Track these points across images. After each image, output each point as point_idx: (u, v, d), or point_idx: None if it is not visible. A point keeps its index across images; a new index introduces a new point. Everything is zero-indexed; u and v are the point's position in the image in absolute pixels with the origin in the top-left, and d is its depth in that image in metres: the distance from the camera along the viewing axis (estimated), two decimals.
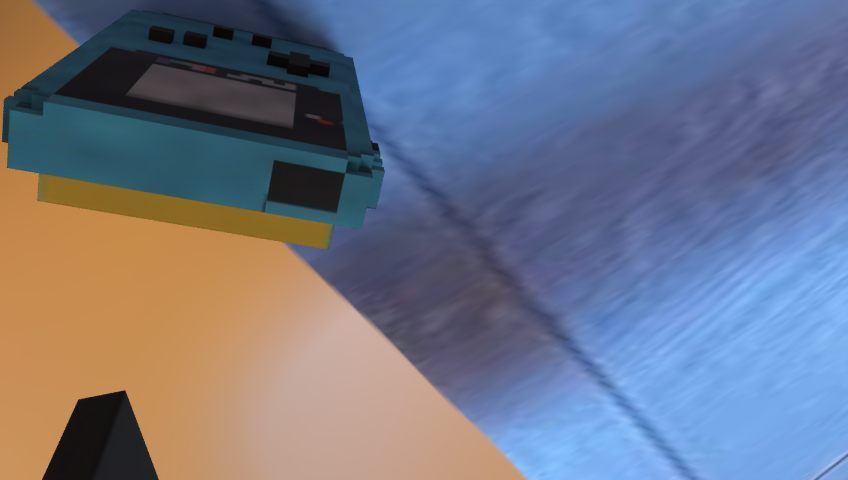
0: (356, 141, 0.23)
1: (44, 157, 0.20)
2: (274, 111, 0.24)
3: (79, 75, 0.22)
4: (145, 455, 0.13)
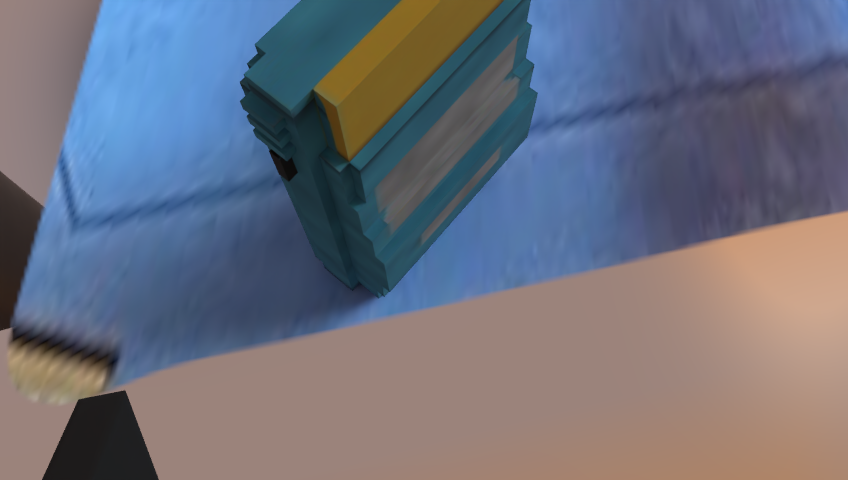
0: None
1: (301, 75, 0.19)
2: None
3: None
4: (145, 455, 0.13)
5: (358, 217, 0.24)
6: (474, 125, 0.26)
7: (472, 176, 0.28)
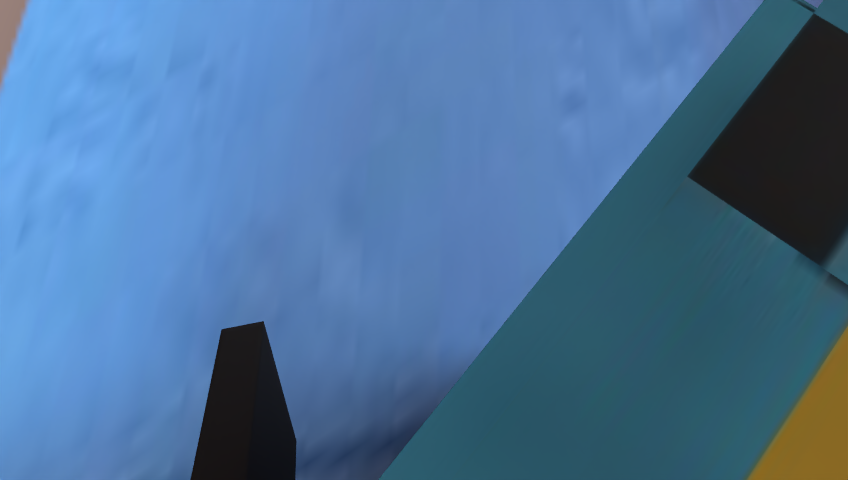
0: None
1: None
2: None
3: None
4: (278, 381, 0.15)
5: None
6: None
7: None
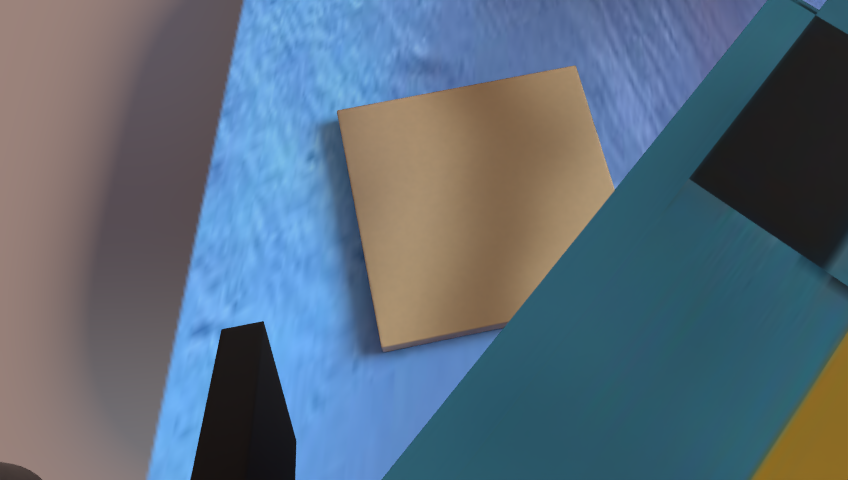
0: None
1: None
2: None
3: None
4: (278, 381, 0.15)
5: None
6: None
7: None
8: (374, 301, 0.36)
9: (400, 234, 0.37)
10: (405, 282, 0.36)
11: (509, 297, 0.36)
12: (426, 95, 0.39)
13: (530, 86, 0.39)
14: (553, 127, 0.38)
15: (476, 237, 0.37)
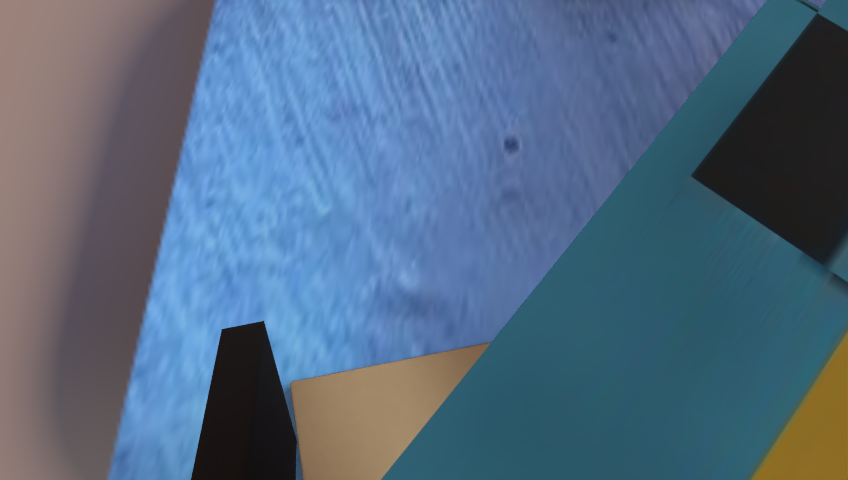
0: None
1: None
2: None
3: None
4: (278, 381, 0.15)
5: None
6: None
7: None
8: None
9: None
10: None
11: None
12: (415, 360, 0.28)
13: None
14: None
15: None
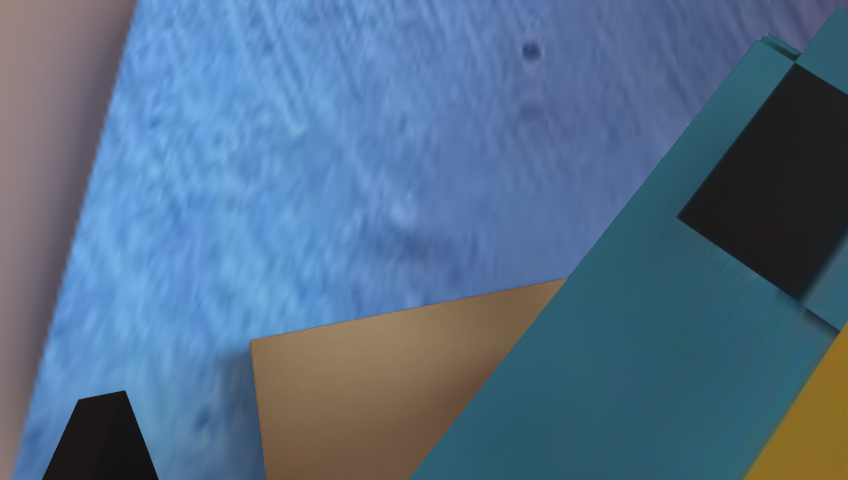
0: None
1: None
2: None
3: None
4: (145, 455, 0.13)
5: None
6: None
7: None
8: None
9: None
10: None
11: None
12: (411, 312, 0.22)
13: None
14: None
15: None
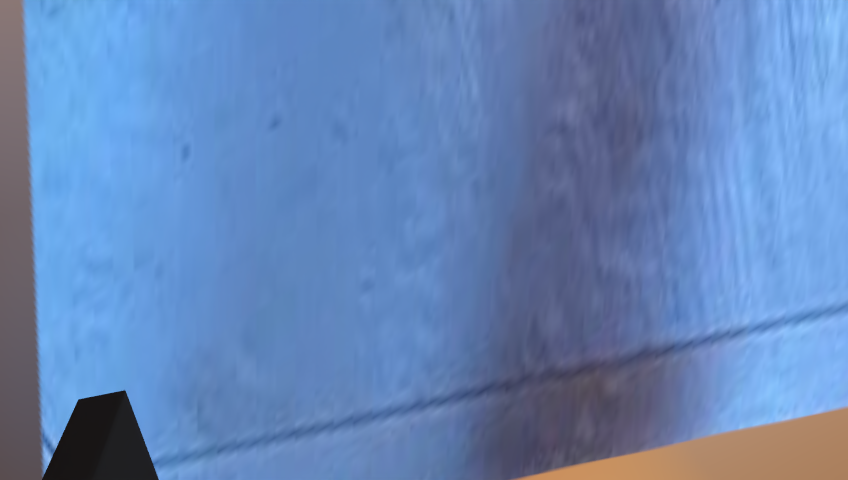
0: None
1: None
2: None
3: None
4: (145, 455, 0.13)
5: None
6: None
7: None
8: None
9: None
10: None
11: None
12: None
13: None
14: None
15: None
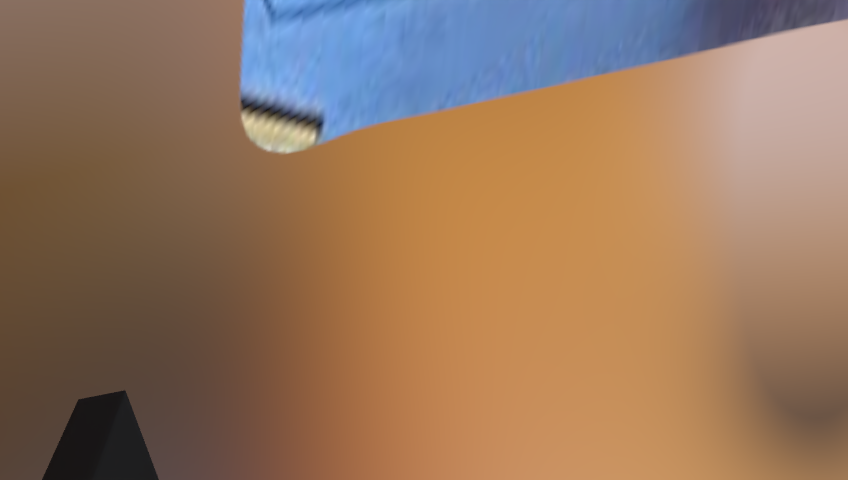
0: None
1: None
2: None
3: None
4: (145, 455, 0.13)
5: None
6: None
7: None
8: None
9: None
10: None
11: None
12: None
13: None
14: None
15: None
